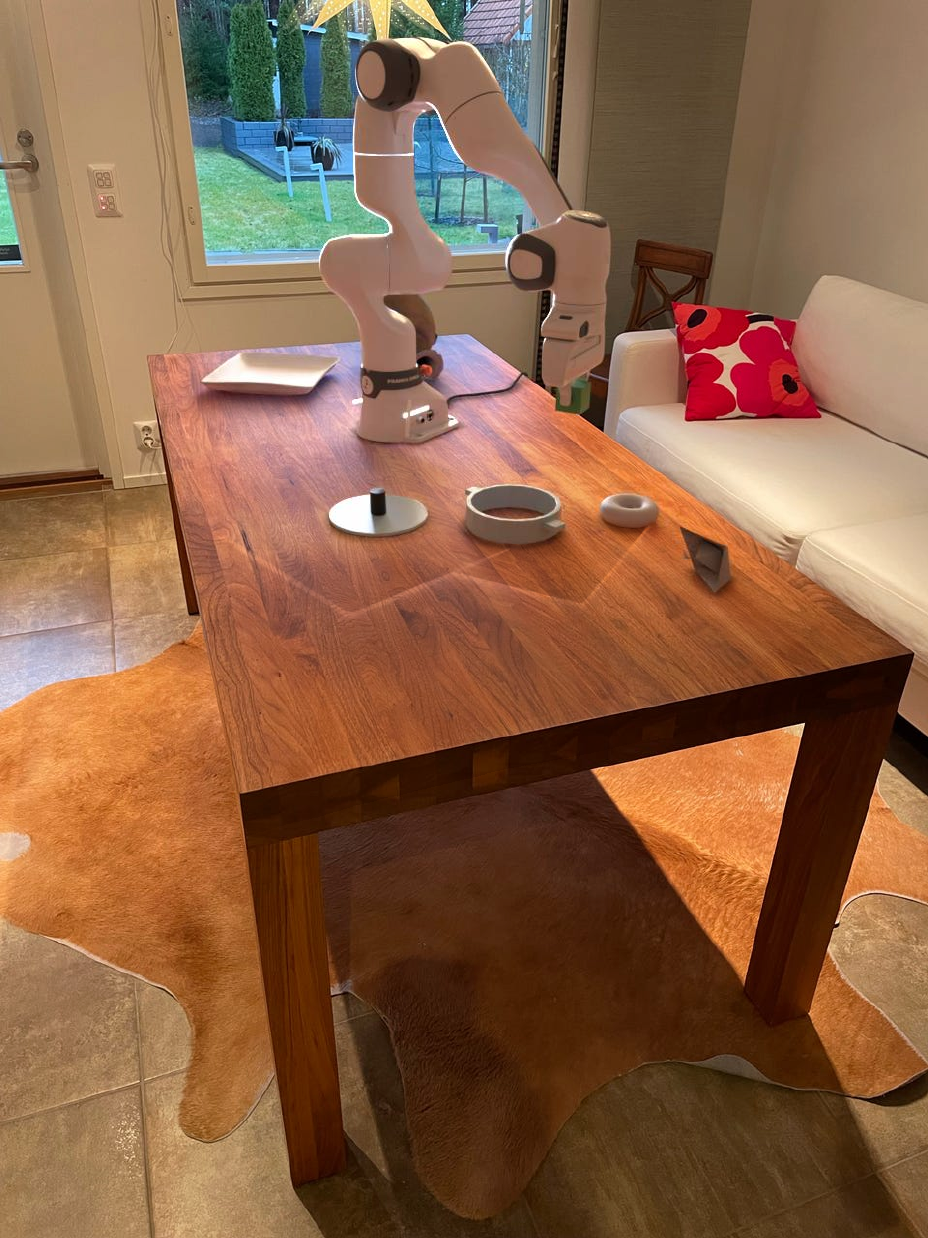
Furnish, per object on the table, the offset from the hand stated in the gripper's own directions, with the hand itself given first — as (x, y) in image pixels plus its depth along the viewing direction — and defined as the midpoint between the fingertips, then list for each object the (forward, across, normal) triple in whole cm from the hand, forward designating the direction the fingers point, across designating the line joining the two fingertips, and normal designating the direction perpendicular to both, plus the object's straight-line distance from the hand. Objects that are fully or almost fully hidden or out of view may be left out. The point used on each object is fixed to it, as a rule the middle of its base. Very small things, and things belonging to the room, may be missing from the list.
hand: (572, 400), depth 160 cm
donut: (+17, +7, +14) cm, 23 cm away
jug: (+16, -58, -68) cm, 90 cm away
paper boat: (+17, +21, +30) cm, 41 cm away
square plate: (+16, -30, -89) cm, 96 cm away
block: (+2, 0, 0) cm, 2 cm away
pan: (+17, +19, -2) cm, 26 cm away
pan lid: (+16, +28, -23) cm, 39 cm away
